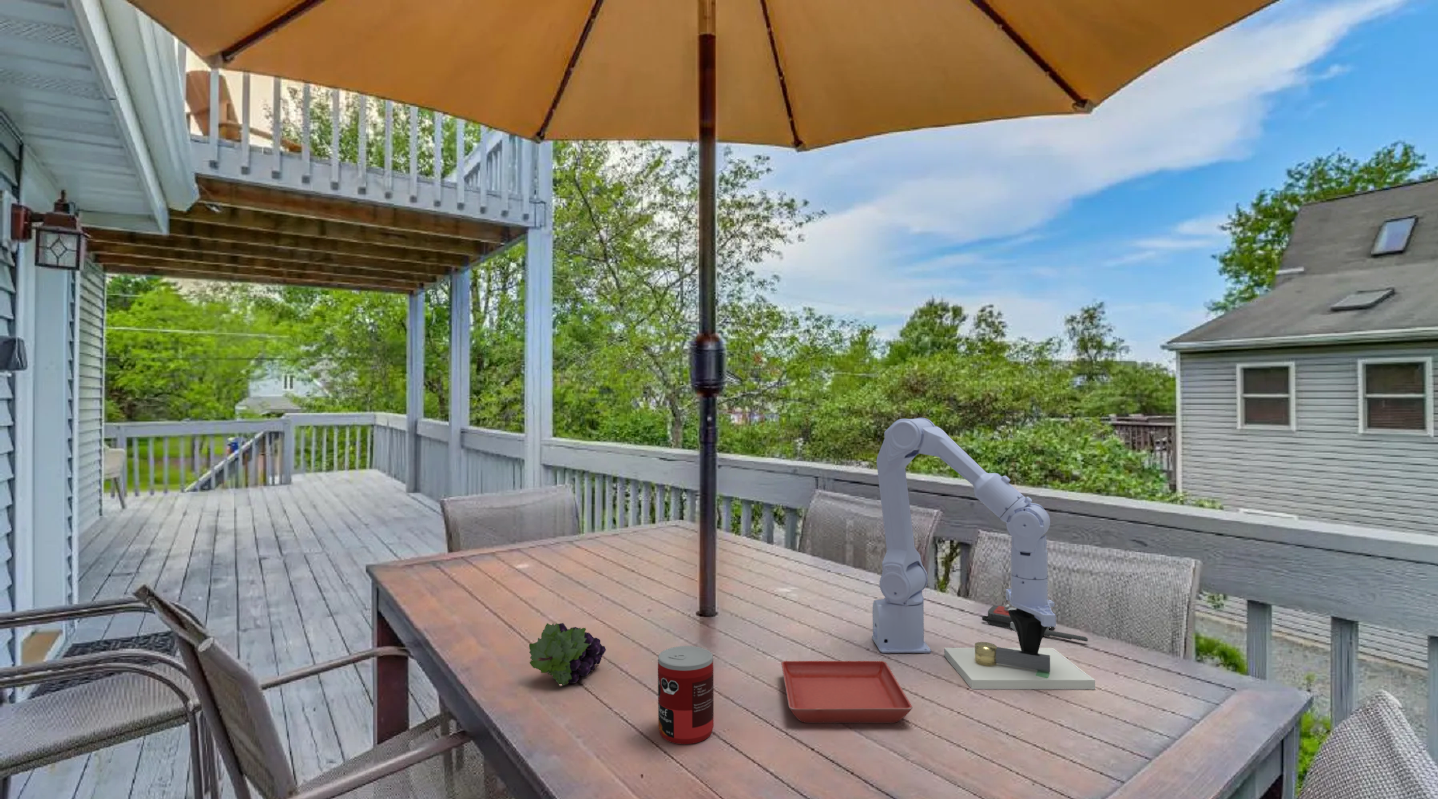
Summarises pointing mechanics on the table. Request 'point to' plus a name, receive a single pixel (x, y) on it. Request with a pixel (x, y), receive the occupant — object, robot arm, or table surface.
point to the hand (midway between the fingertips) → (1029, 654)
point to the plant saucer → (844, 692)
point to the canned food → (685, 694)
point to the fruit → (565, 653)
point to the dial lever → (1010, 657)
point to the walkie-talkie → (1003, 619)
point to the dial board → (1018, 672)
